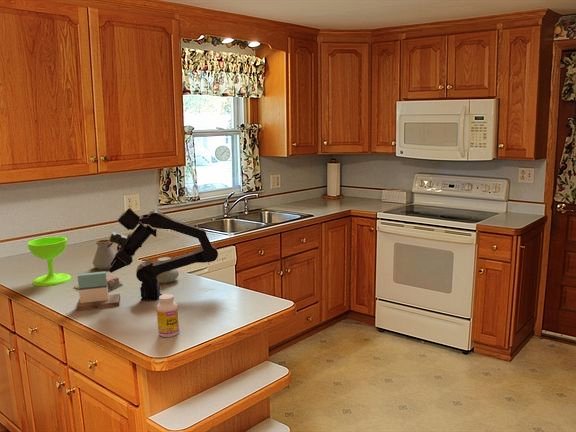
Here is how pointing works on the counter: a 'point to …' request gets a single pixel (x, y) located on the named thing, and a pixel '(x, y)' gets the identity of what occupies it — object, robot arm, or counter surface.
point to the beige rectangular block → (93, 294)
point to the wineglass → (49, 259)
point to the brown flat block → (100, 303)
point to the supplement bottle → (167, 316)
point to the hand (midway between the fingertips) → (110, 268)
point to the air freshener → (167, 273)
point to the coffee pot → (103, 255)
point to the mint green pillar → (92, 279)
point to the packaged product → (109, 283)
